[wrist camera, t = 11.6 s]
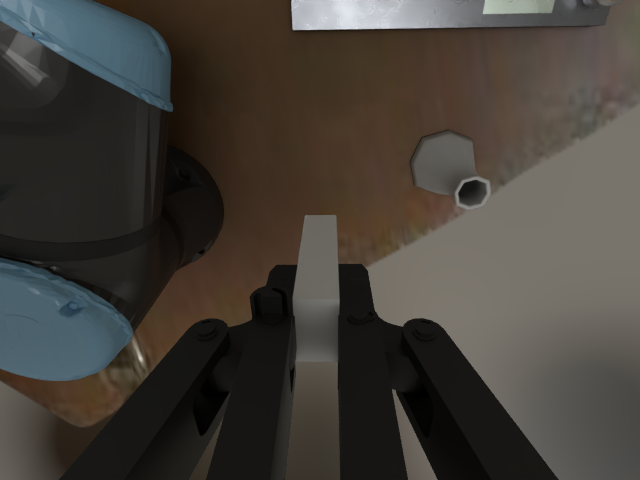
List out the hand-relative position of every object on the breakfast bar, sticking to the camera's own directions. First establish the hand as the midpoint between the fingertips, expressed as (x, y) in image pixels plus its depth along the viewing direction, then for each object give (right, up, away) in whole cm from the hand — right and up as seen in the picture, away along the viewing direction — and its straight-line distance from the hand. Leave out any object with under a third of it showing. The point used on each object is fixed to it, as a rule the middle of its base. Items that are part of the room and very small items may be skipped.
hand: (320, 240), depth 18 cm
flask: (+14, +9, +23) cm, 28 cm away
